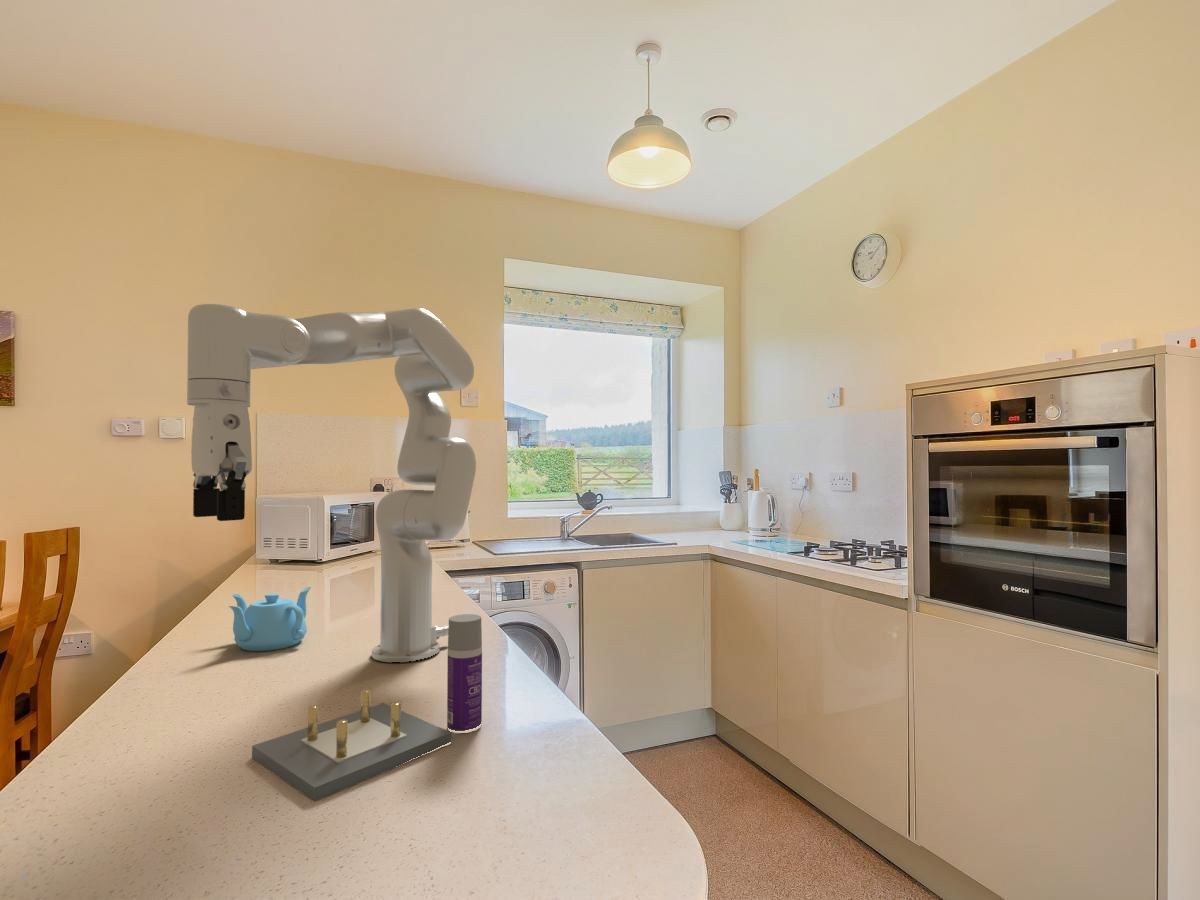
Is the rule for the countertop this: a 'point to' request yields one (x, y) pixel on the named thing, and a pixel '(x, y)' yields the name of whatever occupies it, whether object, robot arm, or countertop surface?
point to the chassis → (366, 751)
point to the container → (464, 672)
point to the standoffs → (342, 724)
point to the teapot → (269, 622)
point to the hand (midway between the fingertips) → (218, 518)
